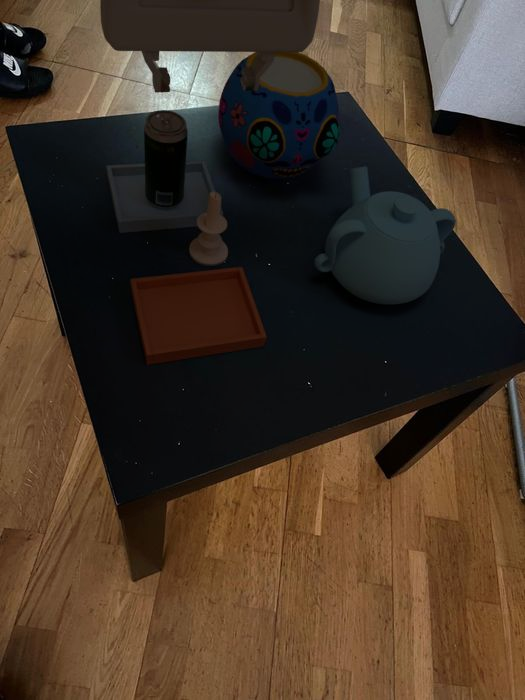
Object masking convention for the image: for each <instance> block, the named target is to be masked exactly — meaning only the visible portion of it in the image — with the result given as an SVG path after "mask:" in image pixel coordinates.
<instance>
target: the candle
mask: <svg viewBox="0 0 525 700" xmlns="http://www.w3.org/2000/svg"><path fill="white" fill-rule="evenodd" d="M221 208H222V196H221V194H220V193H219V192H217V191H216V192H210V196H209V201H208V208H207V212H206V213H203V214H201V215H200V216H199V217H198V219H197V227H198V229H199V230H200V231H201V232H200V233H199V235H198V236H197V237H195V238H194V239H193V240H191V243H190V244H189V249H188V252H189V255H190V257H191V259H192V260H193V261H194V262H195V263H197V264H198V265H202V266H204V267H216V266H221V264H223V263H225V261H226V260H227V258H228V256H229V248H228V246H227V243H225V242H224V241H223V238H222V236H221V235H220V234H222V233H224V232H225V231H226V230H227V228H228V221H227V219H226V218H225V217H224V215H223V216H222V215H220V209H221Z"/></svg>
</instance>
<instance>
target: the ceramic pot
mask: <svg viewBox="0 0 525 700" xmlns="http://www.w3.org/2000/svg"><path fill="white" fill-rule="evenodd" d="M257 55H258V53H257V52H252V53H251V54H250V55H248V56H246V57H245V58H243V59H242V60H241V61H239V63H238V64H236V66H235V67H234V68H233V70H232V72H231V73H230V75H229V76H228V78H227V80H226V81H225V84H224V86H223V88H222V91H221V93H220V97H219V103H218V113H217V114H218V117H217V118H218V126H219V130H220V133H221V137H222V139H223V143H224V145H225V147H226V149H227V151H228V153H229V154H230V155H231V156H232V158H233V159H234V161H235V162H236V163H237V164H238V165H239V166H241V167H242V168H243V169H245V170H246V171H248V172H250V173H251V174H254V175H256V176H259V177H263V178H266V179H271V180H273V179H274V180H287V179H292V178H296V177H299V176H301V175H304V174H305V173H307V172H308V171H309V170H311V169H312V168H314V166H316V165H317V164H318V163H319V162H320V161H321V160H323V158H324V157H327V156H329V155H330V154H331V153H332V152H333V151H334V150H335V149H336V147H337V145H338V144H339V141H340V136H341V130H340V124H339V112H340V111H339V102H338V97H337V92H336V87H335V84H334V81H333V79H332V78H331V76H330V75H329V73H328V72H327V71H326V69H325V67H323V66H322V65H321V64H320V63H319V62H318V61H317V60H314V59H313V58H311V57H310V56H308V55H307V54H304V53H302V52H275V57H274V62H273V63H272V64H271V65H270V67H269V68H268V69H267V70H266V72H265V73H264V74H263V75H262V76H261V77H260V82H259V88H258V91H244V90H243V87H242V86H241V77H242V76H243V75H242V68H243V67H250V66H251V64H252V63H253V61H254V59H255V58H256V56H257Z"/></svg>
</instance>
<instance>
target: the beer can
mask: <svg viewBox="0 0 525 700" xmlns="http://www.w3.org/2000/svg"><path fill="white" fill-rule="evenodd" d="M188 133H189V131H188V127H187V121H186V119H185V118H184V117H183V116H182V115H181V114H179V113H177V112H175V111H172V110H168V109H167V110H166V109H160V110H154V111H152V112H149V114H148V115H146V118H145V123H144V125H143V137H144V139H143V142H144V143H143V147H144V164H145V195H146V198H147V200H148V201H149V203H150V204H151V205H152V206H154V207H156V208H159V209H163V210H169V209H173V208H176V207H177V206H178V205H179V204H180V203H181V202H182V200H183V198H184V185H185V168H186V162H187V149H188V135H189V134H188Z"/></svg>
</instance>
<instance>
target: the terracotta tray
mask: <svg viewBox="0 0 525 700" xmlns="http://www.w3.org/2000/svg"><path fill="white" fill-rule="evenodd" d="M245 274H246V273H245V271H244V268H243V266H236V267H226V268H220V269H218V268H217V269H209V270H200V271H191V272H182V273H173V274H165V275H163V274H162V275H157V276H156V275H155V276H154V275H153V276H146V277H145V276H144V277H135V278H130V292H131V297H132V301H133V306H134V311H135V315H136V320H137V326H138V329H139V333H140V334H139V335H140V338H141V345H142V348H143V353H144V358H145V363H146V366H148V365H156V364H161V363H168V362H174V361H180V360H186V359H192V358H199V357H206V356H213V355H218V354H226V353H232V352H237V351H238V352H239V351H245V350H251V349H256V348H263V347H265V344H266V340H267V333H266V330H265V327H264V325H263V322H262V319H261V317H260V313H259V310H258V308H257V305H256V302H255V300H254V297H253V294H252V291H251V288H250V285H249V283H248V280H247V276H246V275H245Z"/></svg>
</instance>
